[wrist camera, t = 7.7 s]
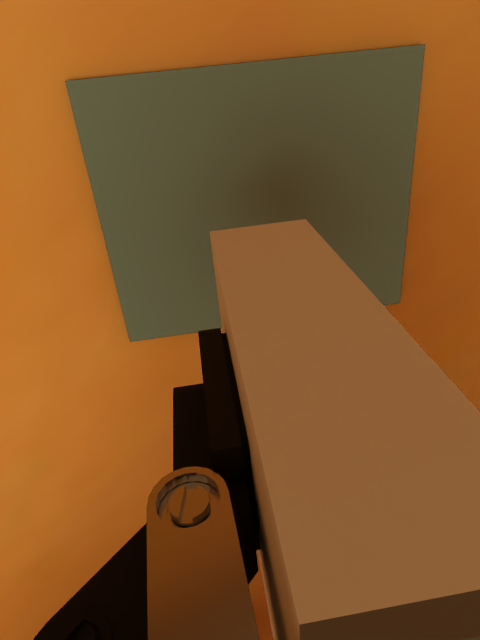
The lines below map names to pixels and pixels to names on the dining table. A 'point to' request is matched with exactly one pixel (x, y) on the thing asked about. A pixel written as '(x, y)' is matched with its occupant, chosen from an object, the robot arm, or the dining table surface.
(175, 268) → the mat
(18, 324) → the dining table surface
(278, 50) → the dining table surface
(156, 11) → the dining table surface
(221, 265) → the slab
